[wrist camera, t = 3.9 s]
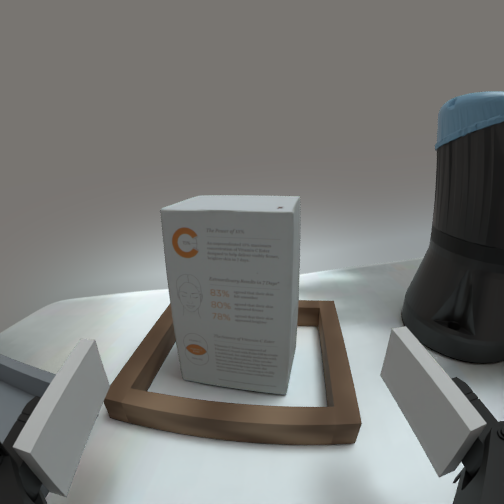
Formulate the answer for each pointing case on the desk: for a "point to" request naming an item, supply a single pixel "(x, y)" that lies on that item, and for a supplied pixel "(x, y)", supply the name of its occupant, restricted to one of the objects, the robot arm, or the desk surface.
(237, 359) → the small box
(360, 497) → the desk surface
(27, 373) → the slate tray
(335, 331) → the walnut frame
